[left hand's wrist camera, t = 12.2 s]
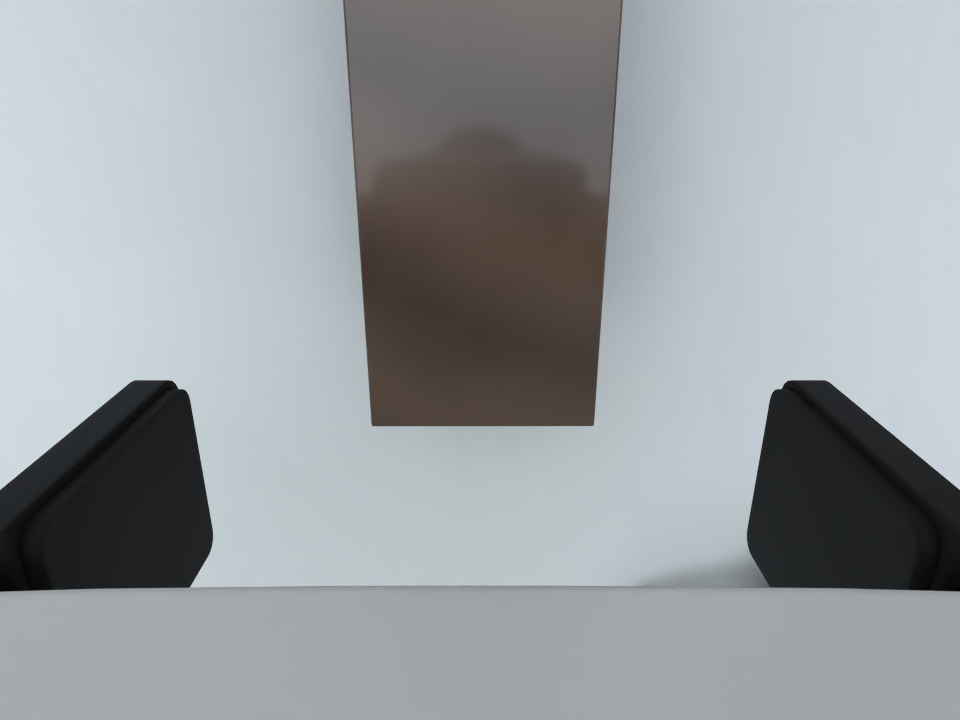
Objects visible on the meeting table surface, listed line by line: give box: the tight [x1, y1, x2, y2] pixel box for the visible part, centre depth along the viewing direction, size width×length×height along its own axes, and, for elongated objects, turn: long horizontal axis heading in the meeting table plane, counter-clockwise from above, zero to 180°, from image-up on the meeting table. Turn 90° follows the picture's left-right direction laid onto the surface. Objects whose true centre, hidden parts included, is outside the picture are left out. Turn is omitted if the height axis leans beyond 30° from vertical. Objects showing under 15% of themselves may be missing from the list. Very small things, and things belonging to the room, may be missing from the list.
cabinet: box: [343, 0, 623, 426], centre depth 21 cm, size 19×6×10 cm, turn 0°
